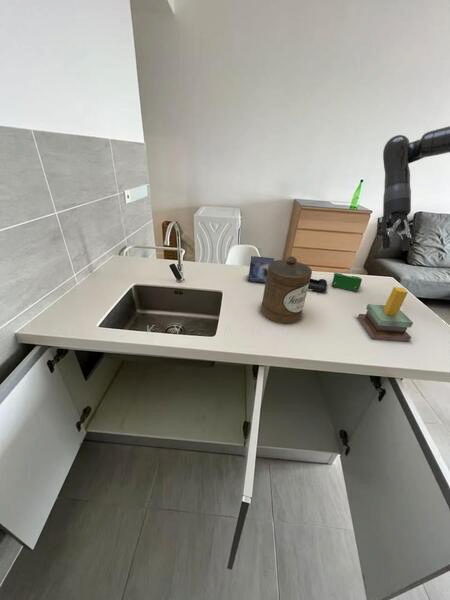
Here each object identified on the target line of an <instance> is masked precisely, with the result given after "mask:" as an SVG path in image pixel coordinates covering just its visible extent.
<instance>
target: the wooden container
mask: <svg viewBox="0 0 450 600" xmlns="http://www.w3.org/2000/svg"><path fill="white" fill-rule="evenodd" d="M312 273H313V270H312V268H311V267H310V266H308V265H307V264H305V263H301V262H299V261H298V260H297V258H296V257H295V256H288V257H286V259H278V260H277V259H276V260H274V261H273V262H271V263H270V264H269V266H268V271H267V278H266V283H264V289H263V290H264V291H263V294H262V302H261V309H260V310H261V313H262V315H263V316H264V317H266V318H267V319H269V320H271V321H272V322H276V323H279V324H292V323H295V322H297V321H299V320H300V318H301V316H302V313H303V309H304V306H305V303H306V299H307V295H308V291H309V290H308V286H309V281H310V279H312Z"/></svg>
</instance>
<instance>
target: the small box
mask: <svg viewBox="0 0 450 600" xmlns="http://www.w3.org/2000/svg"><path fill="white" fill-rule="evenodd" d="M273 261H275V258H274V257H267V256H266V257H265V256H258V255H257V256H256V255H255V256H253V255H251V256H250V263H249V270H248V279H247V280H248V282H249V283H250V282H251V283H259V284H266V278H267V271H268V266H269V264H270V263H271V262H273Z"/></svg>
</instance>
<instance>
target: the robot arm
mask: <svg viewBox="0 0 450 600" xmlns="http://www.w3.org/2000/svg"><path fill="white" fill-rule="evenodd" d="M448 153H450V125H449V126H444V127H442V128H441V127H440V128H436V129H434V130H433V129H432V130H429V131H427V132H425V133H424V134H422V136H421V137H420V139H416V140H414V141H411V142H410V140H409V138H408V137H407V136H406V135H403V134H397V135H394V136H392V137H391V138H390V139H388V140H387V142H386V143H385V145H384V147H383V150H382V160H383V169H384V189H383V196H382V197H383V198H382V199H383V201H382V203H383V205H382V206H383V207H382V208H383V209H382V210H383V211H382V216H380V217H377V223H376V236H380V238H381V246H382V250H389V249H390V248H391V235H392V233H393V232H394V233H397V235H398V236H400V238H401V251H403V252H405V251H409V250H410V248H411V239H412V238H415V237H416V220H415V218H413V219H408V215H409V214H411V211H412V188H411V170H410V166H409V164H411V163H414V162H417V161H420V160H422V159H425V158H428V157H429V158H430V157H436V156H440V155H445V154H448Z"/></svg>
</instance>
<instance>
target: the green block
mask: <svg viewBox="0 0 450 600" xmlns="http://www.w3.org/2000/svg"><path fill="white" fill-rule="evenodd" d="M362 281H363V279H362V278H361V277H360V276H355V275H352V276H351V275H345V274H343V273H339V272H334V274H333V278H332V281H331V284H332V286H333V287H334V288H339V289H344V290H348V291H353V292H357V291H359V290H360V287H361V285H362Z"/></svg>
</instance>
